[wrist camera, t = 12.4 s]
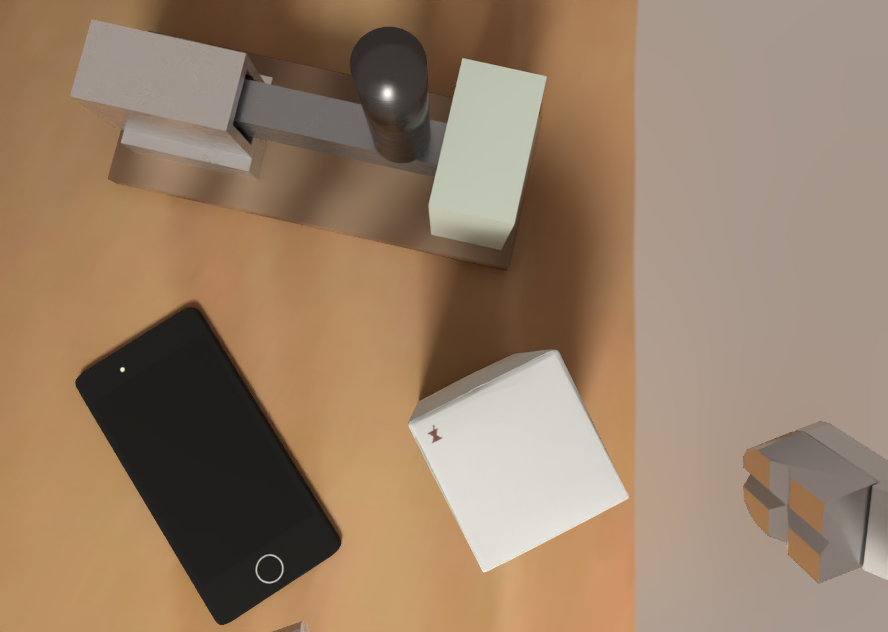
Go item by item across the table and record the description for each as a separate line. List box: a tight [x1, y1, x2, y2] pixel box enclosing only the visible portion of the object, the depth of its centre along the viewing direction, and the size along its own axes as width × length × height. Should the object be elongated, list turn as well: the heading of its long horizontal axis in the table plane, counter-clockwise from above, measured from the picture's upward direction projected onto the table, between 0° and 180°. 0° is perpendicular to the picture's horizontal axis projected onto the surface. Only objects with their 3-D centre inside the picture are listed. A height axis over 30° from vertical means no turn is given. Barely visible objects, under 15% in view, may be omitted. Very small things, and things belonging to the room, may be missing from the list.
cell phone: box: [75, 308, 341, 625], centre depth 38 cm, size 9×18×1 cm, turn 33°
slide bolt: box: [233, 27, 447, 177], centre depth 31 cm, size 15×3×10 cm, turn 77°
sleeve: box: [70, 20, 277, 180], centre depth 36 cm, size 9×6×6 cm
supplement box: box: [408, 349, 629, 572], centre depth 32 cm, size 7×7×13 cm
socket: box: [428, 58, 547, 250], centre depth 35 cm, size 4×8×7 cm, turn 167°
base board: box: [108, 31, 541, 270], centre depth 39 cm, size 26×10×1 cm, turn 77°
